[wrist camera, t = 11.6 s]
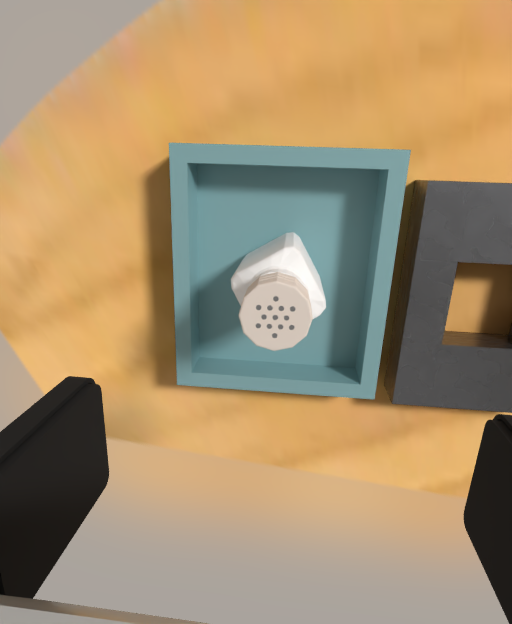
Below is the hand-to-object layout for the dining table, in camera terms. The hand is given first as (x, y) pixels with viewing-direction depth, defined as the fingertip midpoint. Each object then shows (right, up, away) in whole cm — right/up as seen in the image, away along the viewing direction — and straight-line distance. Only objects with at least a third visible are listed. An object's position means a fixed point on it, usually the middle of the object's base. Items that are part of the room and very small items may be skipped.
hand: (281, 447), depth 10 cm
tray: (+1, +6, +17) cm, 18 cm away
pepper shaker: (+1, +6, +17) cm, 18 cm away
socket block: (+14, +4, +17) cm, 22 cm away
